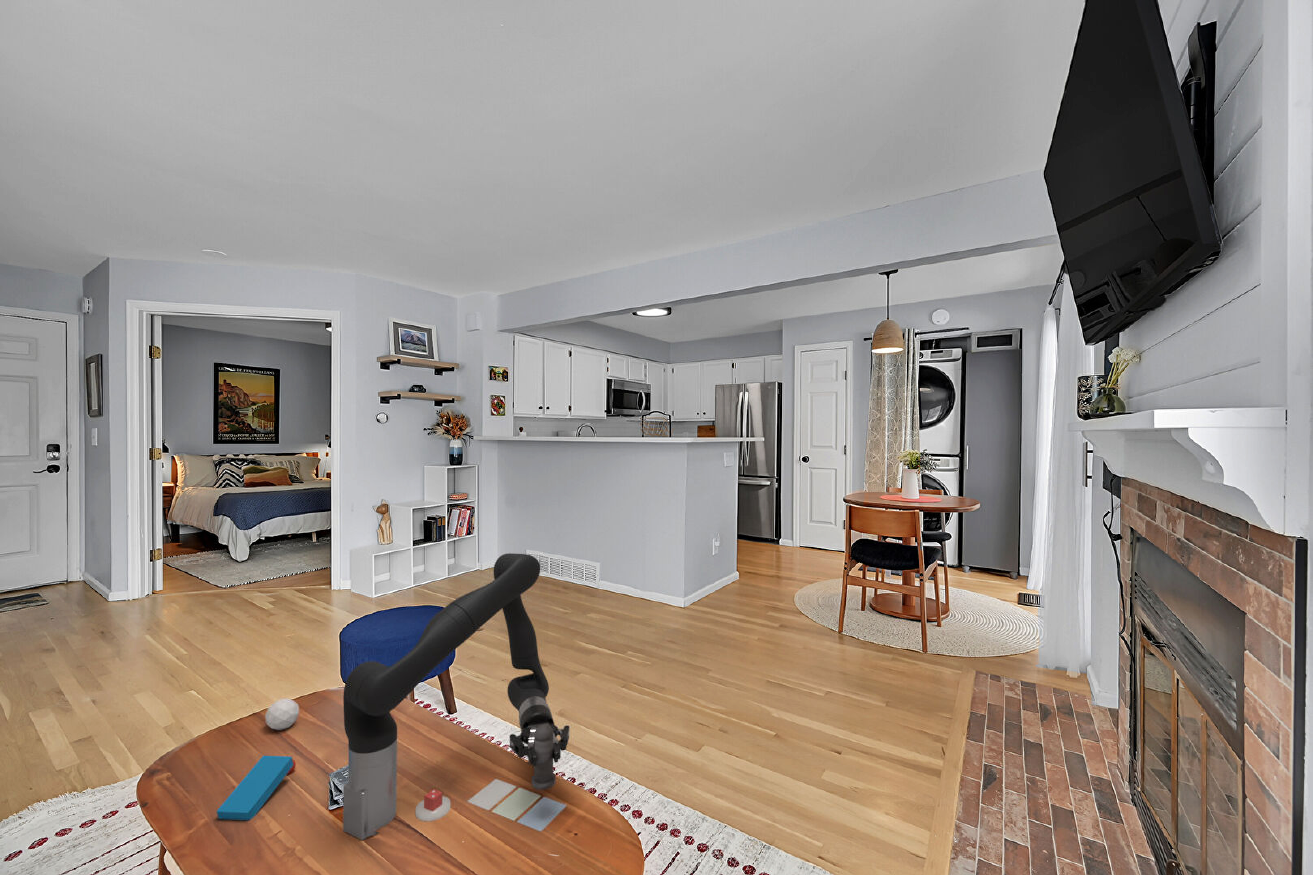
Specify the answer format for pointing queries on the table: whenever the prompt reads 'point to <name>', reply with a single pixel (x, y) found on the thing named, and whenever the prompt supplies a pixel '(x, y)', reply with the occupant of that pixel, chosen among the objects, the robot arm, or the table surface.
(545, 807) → the game board
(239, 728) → the table surface
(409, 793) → the table surface
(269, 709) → the geometric ball
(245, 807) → the lever
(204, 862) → the table surface
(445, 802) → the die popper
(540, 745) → the charcoal pawn
